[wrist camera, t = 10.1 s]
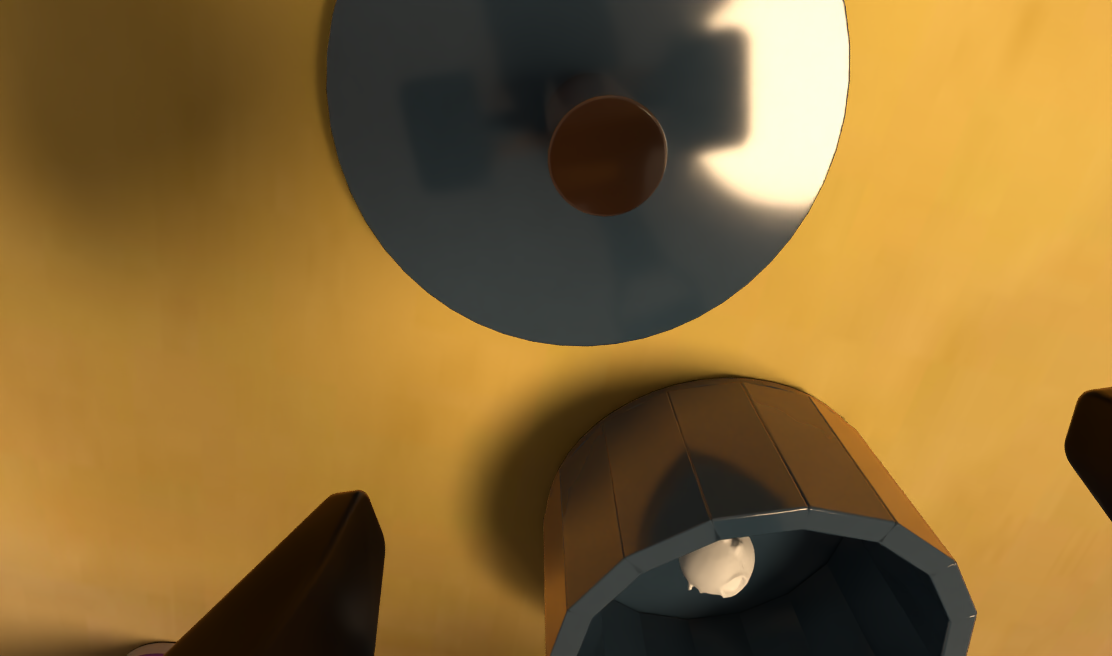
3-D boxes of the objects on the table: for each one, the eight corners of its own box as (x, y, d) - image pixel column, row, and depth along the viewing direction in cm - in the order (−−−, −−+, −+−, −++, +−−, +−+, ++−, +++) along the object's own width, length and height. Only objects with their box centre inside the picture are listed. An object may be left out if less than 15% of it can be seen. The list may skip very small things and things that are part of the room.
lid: (937, 59, 17) (1103, 83, 12) (620, 398, 22) (645, 515, 17) (530, -366, 13) (527, -598, 8) (252, 167, 18) (142, 230, 13)
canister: (936, 483, 24) (1061, 631, 18) (713, 656, 28) (757, 819, 23) (697, 312, 20) (760, 431, 15) (483, 542, 25) (467, 702, 19)
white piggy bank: (693, 487, 23) (713, 547, 21) (760, 509, 24) (787, 571, 21) (656, 542, 24) (670, 605, 22) (720, 561, 25) (741, 625, 22)
